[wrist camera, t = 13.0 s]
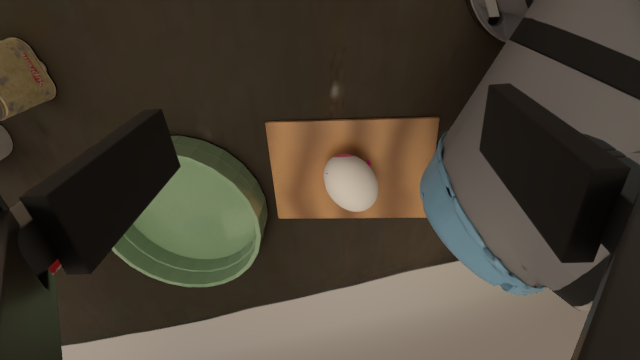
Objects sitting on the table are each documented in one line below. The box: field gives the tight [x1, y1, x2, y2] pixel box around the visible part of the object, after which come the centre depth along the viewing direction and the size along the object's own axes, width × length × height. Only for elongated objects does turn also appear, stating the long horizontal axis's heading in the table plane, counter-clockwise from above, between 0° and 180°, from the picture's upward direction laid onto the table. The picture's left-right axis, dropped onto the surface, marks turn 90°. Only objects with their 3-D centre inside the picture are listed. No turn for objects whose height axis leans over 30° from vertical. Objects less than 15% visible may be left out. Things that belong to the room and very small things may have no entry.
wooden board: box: [265, 116, 440, 219], centre depth 44 cm, size 20×14×1 cm
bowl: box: [112, 136, 268, 287], centre depth 47 cm, size 21×21×5 cm
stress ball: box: [323, 154, 378, 212], centre depth 43 cm, size 8×8×7 cm
